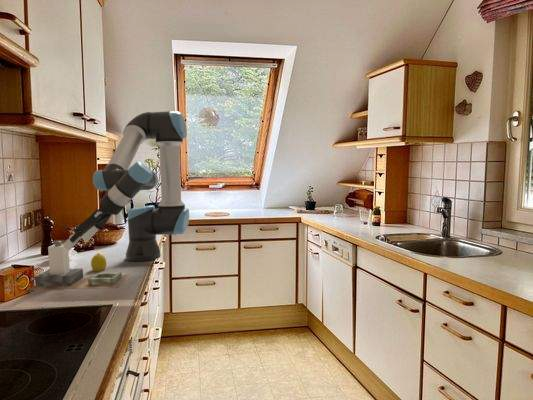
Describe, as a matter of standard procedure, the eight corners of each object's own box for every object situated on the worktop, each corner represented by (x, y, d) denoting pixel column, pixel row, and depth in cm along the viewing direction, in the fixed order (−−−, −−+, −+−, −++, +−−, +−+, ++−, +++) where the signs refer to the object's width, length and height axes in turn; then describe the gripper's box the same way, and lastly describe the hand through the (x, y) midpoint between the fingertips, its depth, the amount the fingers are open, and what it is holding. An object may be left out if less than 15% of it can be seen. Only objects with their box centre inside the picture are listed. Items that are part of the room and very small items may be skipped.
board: (132, 278, 156) (132, 264, 156) (117, 292, 140) (116, 276, 140) (52, 280, 156) (51, 266, 156) (27, 293, 140) (26, 278, 140)
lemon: (99, 276, 161) (98, 255, 160) (88, 274, 163) (87, 254, 162) (109, 272, 166) (108, 252, 165) (99, 271, 168) (97, 251, 167)
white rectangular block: (70, 280, 150) (67, 240, 149) (65, 283, 146) (62, 242, 145) (56, 280, 150) (53, 240, 149) (50, 283, 146) (47, 242, 145)
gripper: (110, 212, 133) (66, 259, 135) (135, 203, 158) (97, 243, 160) (92, 195, 133) (48, 243, 134) (120, 189, 158) (83, 230, 159)
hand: (75, 243), depth 147 cm, fingers open, 13 cm apart
